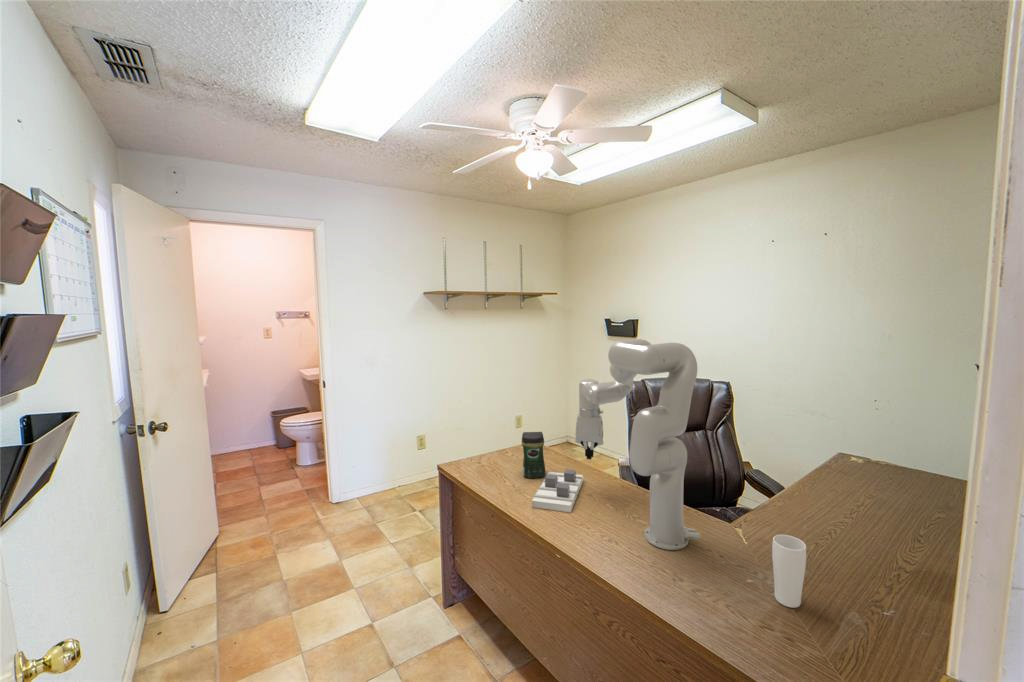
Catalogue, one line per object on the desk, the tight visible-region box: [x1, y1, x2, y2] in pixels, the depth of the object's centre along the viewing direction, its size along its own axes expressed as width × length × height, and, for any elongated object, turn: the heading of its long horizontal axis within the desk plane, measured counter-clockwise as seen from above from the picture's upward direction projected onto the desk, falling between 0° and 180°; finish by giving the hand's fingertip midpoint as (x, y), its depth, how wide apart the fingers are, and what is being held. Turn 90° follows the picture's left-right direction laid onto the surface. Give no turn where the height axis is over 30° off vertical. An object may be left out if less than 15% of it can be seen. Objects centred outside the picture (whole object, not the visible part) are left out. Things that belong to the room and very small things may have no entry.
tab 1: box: [544, 473, 558, 488], centre depth 162 cm, size 4×4×3 cm
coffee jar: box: [520, 431, 546, 479], centre depth 178 cm, size 10×8×19 cm
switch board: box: [531, 471, 584, 513], centre depth 161 cm, size 14×26×3 cm, turn 161°
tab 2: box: [557, 483, 570, 498], centre depth 154 cm, size 4×4×3 cm
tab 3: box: [563, 469, 577, 482], centre depth 166 cm, size 4×4×3 cm
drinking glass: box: [771, 534, 807, 609], centre depth 101 cm, size 7×7×15 cm
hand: (589, 458), depth 163 cm, fingers closed
